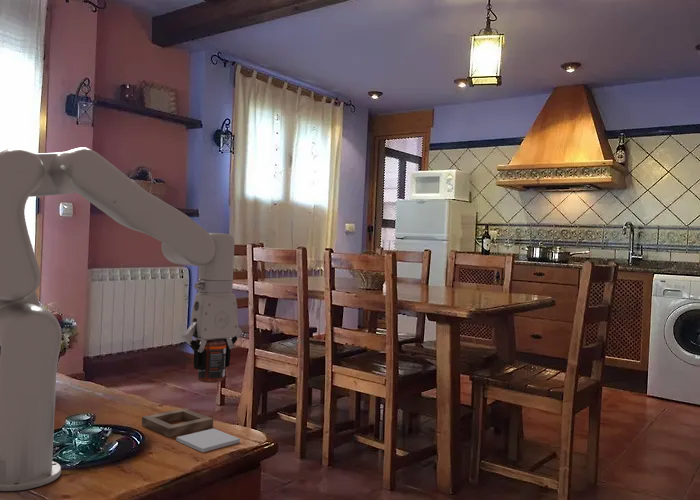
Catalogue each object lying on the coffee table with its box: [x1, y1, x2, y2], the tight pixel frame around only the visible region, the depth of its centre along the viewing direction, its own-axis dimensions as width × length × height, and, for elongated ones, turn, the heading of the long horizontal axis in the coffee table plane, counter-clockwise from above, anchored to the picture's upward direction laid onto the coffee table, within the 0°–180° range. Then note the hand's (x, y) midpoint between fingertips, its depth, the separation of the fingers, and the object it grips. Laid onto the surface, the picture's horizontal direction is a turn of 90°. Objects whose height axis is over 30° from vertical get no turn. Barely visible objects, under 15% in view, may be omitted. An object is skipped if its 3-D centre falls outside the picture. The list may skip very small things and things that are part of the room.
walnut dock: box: [141, 407, 214, 438], centre depth 141 cm, size 12×12×2 cm
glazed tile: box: [175, 427, 241, 453], centre depth 132 cm, size 10×10×1 cm
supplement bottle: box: [197, 339, 226, 384], centre depth 132 cm, size 6×6×11 cm
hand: (211, 366), depth 132 cm, fingers closed on supplement bottle, 6 cm apart
